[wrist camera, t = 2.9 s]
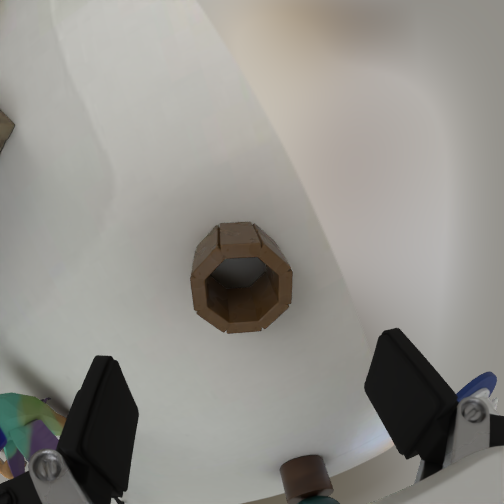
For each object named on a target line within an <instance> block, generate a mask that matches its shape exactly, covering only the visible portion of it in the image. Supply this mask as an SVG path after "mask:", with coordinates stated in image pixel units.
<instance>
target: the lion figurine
mask: <svg viewBox="0 0 504 504" xmlns="http://www.w3.org/2000/svg"><path fill="white" fill-rule="evenodd" d="M26 463H27V462H26V461H24V465H25V466H26ZM0 473H1V474H2V475H3V476H4V477H6V478H8V479H12V478H14V477H13V475H12V472H11V470H10V467H9V465H8V462H7V460H6V461H5V462H4V461H3V460H2V459H1V458H0Z"/></svg>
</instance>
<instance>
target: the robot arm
mask: <svg viewBox="0 0 504 504" xmlns="http://www.w3.org/2000/svg"><path fill="white" fill-rule="evenodd" d="M364 389H365V392H366V394H367V396H368V398H369V400H370V401H371V403H372V405H373V407H374V408H375V410H376V412H377V414H378V415H379V417H380V419H381V421H382V422H383V424H384V426H385V428H386V430H387V431H388V433H389V435H390V437H391V439H392V440H393V442H394V444H395V446H396V448H397V449H398V451H399V453H400V454H402V455H404V456H405V458H406V459H409V458H412V457H414V456H416V455H418V454H419V455H420V457H421V461H420V466H419V469H418V473H417V476H416V480H415V483H414V484H413V485H411V486H409V487H407V488H405V489H402V490H400V491H398V492H396V493H393V494H391V495H389V496H386V497H384V498H381V499H379V500H376V501H374V502H371V503H368V504H504V416H500V415H499V414H498V413H497V411H496V408H497V405H496V404H497V403H498V398H495V399H494V400H492V401H491V400H490V399H489V398H488V397H489V394H490V391H489V390H488V389H487V388H482V389H479V390H478V391H476V392H475V393H473V394H472V395H471V396H469V397H466V398H463V399H462V400H461V401H460V402H458V401H457V399H458V396H457V395H456V394H455V393H454V391H453V390H452V389H451V388H450V386H449V385H448V384H447V383H446V382H445V381H444V379H443V378H442V377H441V376H440V375H439V373H438V372H437V371H436V370H435V369H434V367H433V366H432V365H431V364H430V363H429V362H428V361H427V359H426V358H425V357H424V356H423V355H422V354H421V352H420V351H419V350H418V349H417V348H416V347H415V346H414V345H413V343H412V342H411V341H410V340H409V339H408V338H407V337H406V336H405V334H404V333H403V332H402V331H401V330H400V329H399V328H394V329H390V330H385V331H384V332H383V333H382V335H381V336H379V338H378V341H377V345H376V349H375V352H374V356H373V359H372V362H371V366H370V369H369V372H368V375H367V378H366V381H365V385H364ZM138 417H139V412H138V408H137V405H136V403H135V401H134V399H133V397H132V394H131V392H130V390H129V388H128V385H127V383H126V380H125V378H124V376H123V373H122V371H121V368H120V366H119V363H118V361H117V360H114V359H113V357H112V356H99V355H97V356H95V358H94V359H93V362H92V364H91V366H90V368H89V371H88V373H87V375H86V378H85V380H84V382H83V385H82V387H81V389H80V390H79V391H78V392H77V394H76V396H75V399H74V401H73V404H72V406H71V409H70V411H69V414H68V416H67V419H66V422H65V425H64V427H63V430H62V433H61V436H60V439H59V441H58V444H57V447H56V450H53V449H46V448H45V449H41V450H38V451H37V452H35V453H34V454H33V455H32V456H31V458H30V461H29V466H28V468H29V471H27V472H25V473H23V474H21V475H19V476H17V477H15V478H12V479H10V480H8V481H6V482H3V483H1V484H0V504H110V503H111V497H112V496H116V497H122V496H123V491H124V492H126V491H127V488H128V481H129V474H130V466H131V459H132V453H133V446H134V440H135V434H136V428H137V423H138Z"/></svg>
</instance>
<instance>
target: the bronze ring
mask: <svg viewBox="0 0 504 504" xmlns="http://www.w3.org/2000/svg"><path fill="white" fill-rule="evenodd" d="M247 257H258V258H259V259H260V260H261V261H262V262H264V263H265V264H266V271H265V272H264V273H263V274H262V275H261V276H260V277H259V278H258V279H257V280H256V281H255V282H254V283H253V284H252V285H251V286H250V287H243V288H228V289H227V288H225V287H224V286H223V285H221V284H220V283H219V282H218V281H216V280H215V279H214V278H212V277H211V276H210V274H211V273H212V272H213V271H214V270H215V269H216V268H217V267H218V266H219V265H220V264H221V263H222V262H223V261H224V260H225V259H231V258H247ZM292 276H293V271H292V270H291V267H290V265H289V264H288V262H287V260H286V259H285V257H284V255H283V254H282V252H281V251H280V249H279V247H278V246H277V244H276V243H275V241H273V240H272V239H271V238H270V237H269V236H268V235H267V234H266V233H265V232H264V231H263V230H261V229H260V228H259V227H258V226H257V225H256V224H255V223H254V224H253V225H252V223H251V222H238V223H220V227H219V226H215V227H214V228H213V230H212V231H211V232H210V233H209V234H208V235H207V236H206V237H205V238H204V240H203V241H202V242H201V243H200V244H199V245H198V246H197V249H196V251H195V256H194V261H193V266H192V272H191V277H190V282H191V290H192V297H193V305H194V310H195V311H197V315H199V316H200V317H202V318H203V319H205V320H206V321H207V322H209V323H210V324H212V325H213V326H215V327H216V328H217V329H219V330H220V331H222V332H225V331H226V330H227V333H228V334H230V333H243V332H255V331H261V330H262V328H264V329H266V328H267V327H268V326H269V325H270V324H271V323H272V322H274V321H275V320H276V319H277V318H278V317H279V316H280V315H281V314H282V313H283V312H284V311H285V310H287V309H288V308H289V305H288V304H291V300H292Z"/></svg>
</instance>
